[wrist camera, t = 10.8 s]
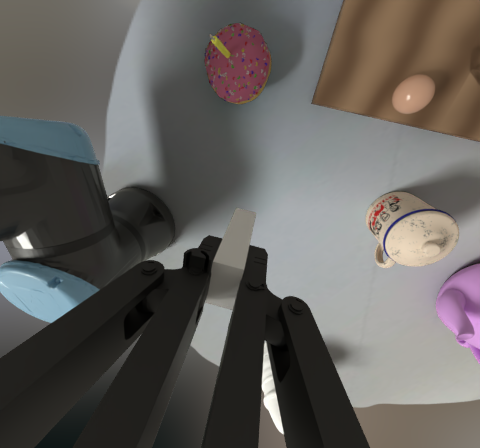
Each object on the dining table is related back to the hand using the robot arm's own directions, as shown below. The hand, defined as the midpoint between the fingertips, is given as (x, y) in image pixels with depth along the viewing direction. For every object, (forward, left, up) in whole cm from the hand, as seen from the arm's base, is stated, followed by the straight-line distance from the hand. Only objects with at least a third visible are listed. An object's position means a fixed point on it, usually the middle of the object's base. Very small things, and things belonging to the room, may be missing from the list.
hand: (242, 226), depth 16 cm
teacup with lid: (+24, -5, -25) cm, 35 cm away
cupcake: (-6, +12, -25) cm, 28 cm away
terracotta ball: (+16, +13, -20) cm, 29 cm away
